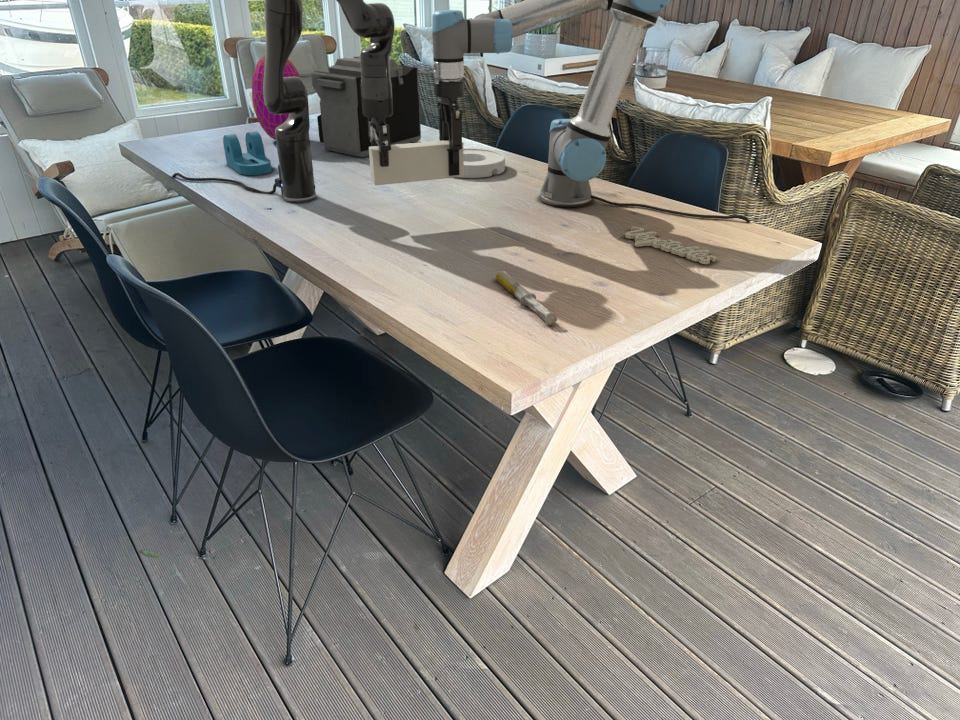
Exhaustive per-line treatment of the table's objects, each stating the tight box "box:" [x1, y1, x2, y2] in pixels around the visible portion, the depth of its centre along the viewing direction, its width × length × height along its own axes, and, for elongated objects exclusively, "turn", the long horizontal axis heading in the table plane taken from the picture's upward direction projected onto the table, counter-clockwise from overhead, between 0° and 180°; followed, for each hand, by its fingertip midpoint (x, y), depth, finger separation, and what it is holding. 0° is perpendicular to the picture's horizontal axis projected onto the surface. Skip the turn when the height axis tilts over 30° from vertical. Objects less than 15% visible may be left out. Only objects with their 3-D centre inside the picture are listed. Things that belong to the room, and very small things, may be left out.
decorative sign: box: [624, 226, 717, 265], centre depth 170 cm, size 26×1×10 cm
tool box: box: [310, 55, 422, 159], centre depth 250 cm, size 37×22×30 cm, turn 144°
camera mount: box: [222, 131, 272, 176], centre depth 226 cm, size 18×10×10 cm, turn 35°
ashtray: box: [461, 147, 506, 179], centre depth 231 cm, size 23×23×4 cm
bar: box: [368, 140, 464, 186], centre depth 179 cm, size 24×4×9 cm, turn 110°
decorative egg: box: [251, 56, 302, 141], centre depth 257 cm, size 19×19×30 cm
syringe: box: [495, 269, 558, 326], centre depth 143 cm, size 25×4×3 cm, turn 21°
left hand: (380, 162), depth 176 cm, fingers open, 8 cm apart
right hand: (451, 172), depth 183 cm, fingers closed on bar, 4 cm apart
